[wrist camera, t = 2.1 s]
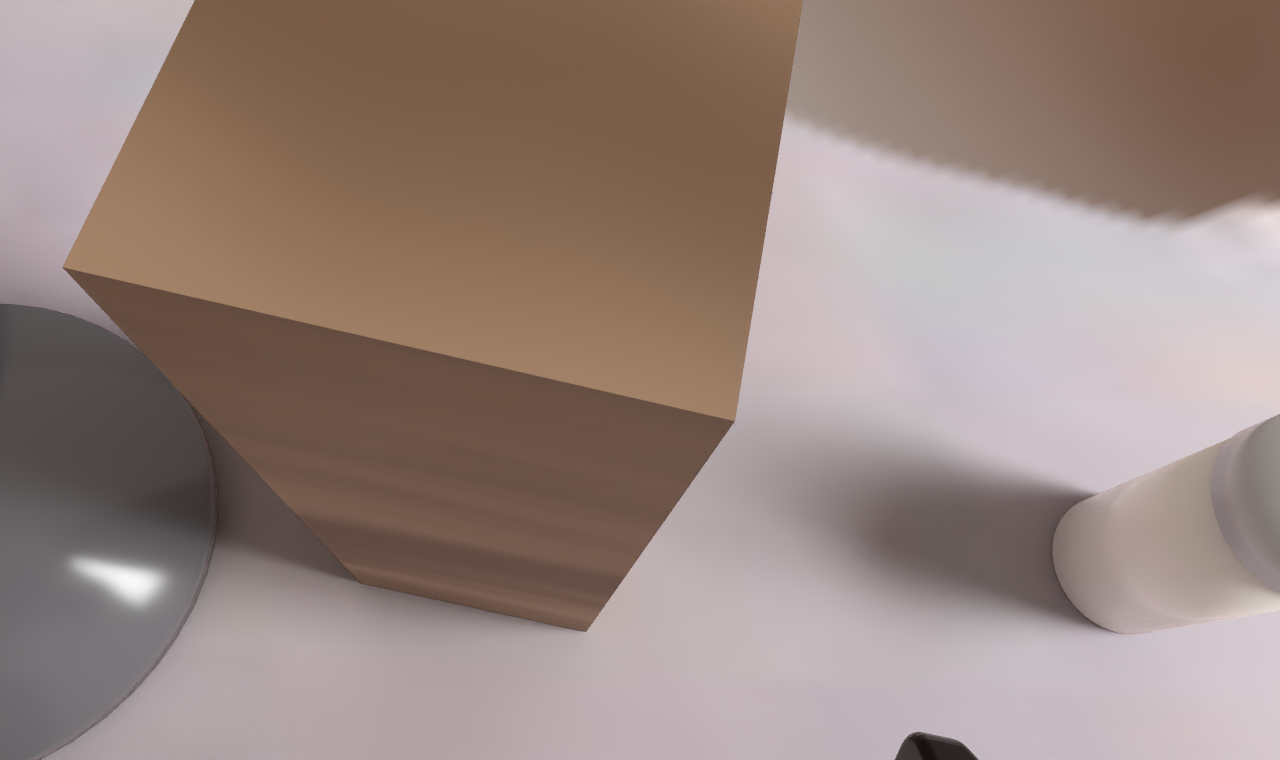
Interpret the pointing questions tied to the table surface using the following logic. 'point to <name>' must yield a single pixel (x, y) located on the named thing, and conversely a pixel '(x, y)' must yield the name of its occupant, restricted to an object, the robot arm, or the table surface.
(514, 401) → the walnut block
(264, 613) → the table surface
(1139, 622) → the salt shaker
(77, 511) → the slate coaster
